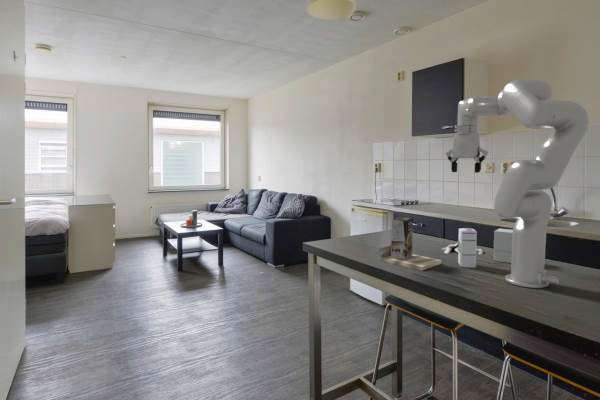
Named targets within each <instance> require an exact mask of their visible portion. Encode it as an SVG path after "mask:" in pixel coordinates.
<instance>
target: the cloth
mask: <svg viewBox="0 0 600 400" xmlns="http://www.w3.org/2000/svg"><path fill="white" fill-rule="evenodd" d="M441 250H442V251H443V253H444V254H447V255H448V254H450V253H451V252H455V253H457V254H458V241H457V242H456V243H455V244H449V245H448V246H446V247H443V248H442V249H441ZM483 254H484V251H483V249H481V248H476V255H483Z"/></svg>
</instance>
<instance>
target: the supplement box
mask: <svg viewBox="0 0 600 400" xmlns="http://www.w3.org/2000/svg"><path fill="white" fill-rule="evenodd" d="M493 233H494V234H493V235H494V237H493V261H494V262H499V263H501V262H502V263H508V264H511V260H512V240H513V229H507V228H497V229H496V230H494V231H493Z"/></svg>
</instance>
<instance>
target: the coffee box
mask: <svg viewBox="0 0 600 400" xmlns="http://www.w3.org/2000/svg"><path fill="white" fill-rule="evenodd" d="M413 233H414V218H413V217H405V216H404V217H402V216H399V217H395V218H393V219H391V244H390V245H391V258H396V259H403V260H406V259H407V258H409V257H410V256H412V254H413V247H414V246H413V245H414V244H413V242H414V241H413V240H414V239H413V238H414V237H413V236H414V234H413Z"/></svg>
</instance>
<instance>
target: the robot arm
mask: <svg viewBox="0 0 600 400" xmlns="http://www.w3.org/2000/svg"><path fill="white" fill-rule="evenodd" d="M552 95H553V89H552V86H551V85H550V84H549V83H548V82H546V81H544V80H539V79H521V78H520V79H519V78H518V79H513V80H511V81H509V82H508V83H507V84H505V86H504V88H503V89H502V90H501V91H500V92H499V93H498V95H497V96H485V95H482V96H481V95H480V96H479V95H478V96H470V97H469V98H468V99H463V100H460V101H459V102H458V104H457V125H456V126H457V127H456V128H454V129H453V131H454V133H456V134H455V135H454V137H453V140H452V141H453V142H452V148H451V149H449V150H448V151H447V152H445V155H446V157H447V159H448V160H449V163H450V164H451V167H450V168H451V173H457V172H458V161H459V159H473V160H475V163H474V173H476V174H478V173H480V172H481V170H482V163H483V161H484V160H485V159H486V158H487V156H488V154H489V151H488V150H486V149H484V148H482V147H481V142H480V141H481V140H480V135H479V133H478V117H498V116H504V115H509V114H512V115H513V116H514V117H515V118H516V120H517V121H519V123H520V124H521V125H522V126H524V127H526V128H527V129H531V130H554V132H553V133H551V134H550V135H549V136H547V138H546V139H545V140H544V141H543V143H542V144H541V146H540V148H539V151H538V152H537V154H536V156H535V157H534V158H533V159H532V158H531V159H520V160H516V161H515V162H512V164H510V166H509V167H508V168H507V169H506V171H505V173H504V176H503V177H502V180H501V183H500V185H499V187H498V190H497V192H496V195H495V197H494V201H493V208H494V211H495V213H496V215H497V216H499V217H500V218H502V219H506V220H507V219H508V220H516V219H517V220H516V221H515V223H514V226H513V227H512V228H513V229H512V230H513V240H512V260H511V263H510V273H508V274H506V275H505V276H504V279H505V280H506V282H508V283H509V284H512V285H515V286H518V287H525V288H529V289H530V288H531V289H532V288H533V289H543V288H547V287H549V285H550V283H551V284H554V285H559V282H560V279H559V277H557V276H554V275H549V274H548V270H546V269H545V261H546V245H547V243H546V242H547V231H548V230H547V229H548V222H549V219H550V215H551V213H552V212H551V211H552V207H553V206H552V205H553V203H552V198H551V196H550V194H548V192H546V191H544V190H550V189H554V188H555V187H556V186H557V185H558V184H559V182H560V180H561V178H562V176H563V175H564V172H565V171H566V169H567V167H568V165H569V163H570V161H571V159H572V158H573V155H574V153H575V151H576V149H577V148H578V146H579V145H580V143H581V142H582V140H583V139H584V137H585V135H586V133H587V130H588V127H589V114H588V112H587V110H586V109H585V107H584V106H583V105H581V104H580V103H578V102H576V101H573V100H572V101H571V100H564V99H563V100H561V99H554V100H552V99H551V98H552ZM481 153H482V155H481Z"/></svg>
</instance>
